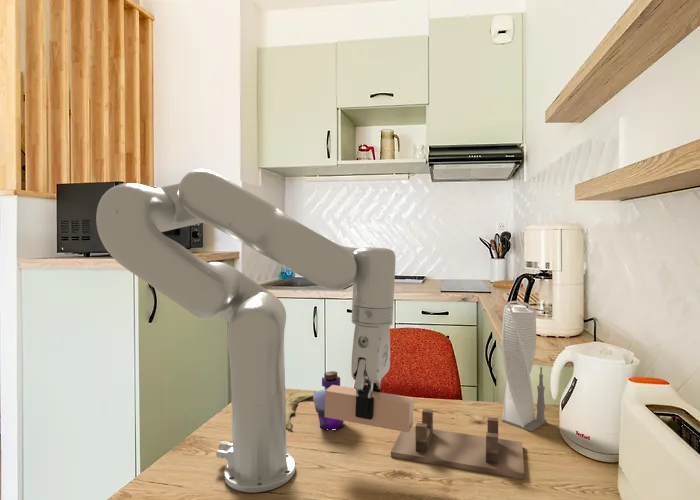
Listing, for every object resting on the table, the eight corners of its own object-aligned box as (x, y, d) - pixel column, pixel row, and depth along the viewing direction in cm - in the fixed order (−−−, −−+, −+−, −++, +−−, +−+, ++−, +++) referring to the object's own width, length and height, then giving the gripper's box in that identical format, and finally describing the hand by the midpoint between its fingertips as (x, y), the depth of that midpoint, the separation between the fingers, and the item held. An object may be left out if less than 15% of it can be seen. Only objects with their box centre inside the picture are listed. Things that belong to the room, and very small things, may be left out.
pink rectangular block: (324, 417, 81) (325, 390, 81) (331, 410, 85) (332, 384, 85) (408, 432, 76) (409, 404, 76) (412, 424, 79) (413, 397, 79)
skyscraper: (528, 434, 93) (529, 303, 91) (494, 421, 99) (494, 299, 98) (546, 422, 98) (547, 299, 97) (512, 411, 104) (513, 295, 103)
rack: (390, 456, 84) (390, 426, 84) (404, 429, 95) (404, 402, 95) (524, 479, 76) (524, 445, 76) (522, 446, 87) (522, 417, 87)
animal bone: (291, 390, 117) (327, 387, 115) (293, 398, 117) (328, 395, 115) (262, 428, 96) (305, 425, 95) (263, 438, 97) (306, 435, 95)
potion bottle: (342, 436, 92) (341, 381, 92) (305, 430, 95) (305, 376, 95) (356, 420, 101) (355, 368, 100) (321, 414, 104) (321, 365, 103)
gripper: (379, 325, 71) (374, 436, 71) (402, 310, 86) (397, 401, 87) (336, 320, 73) (332, 427, 74) (366, 306, 89) (362, 394, 90)
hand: (367, 412), depth 80 cm, fingers closed on pink rectangular block, 3 cm apart
